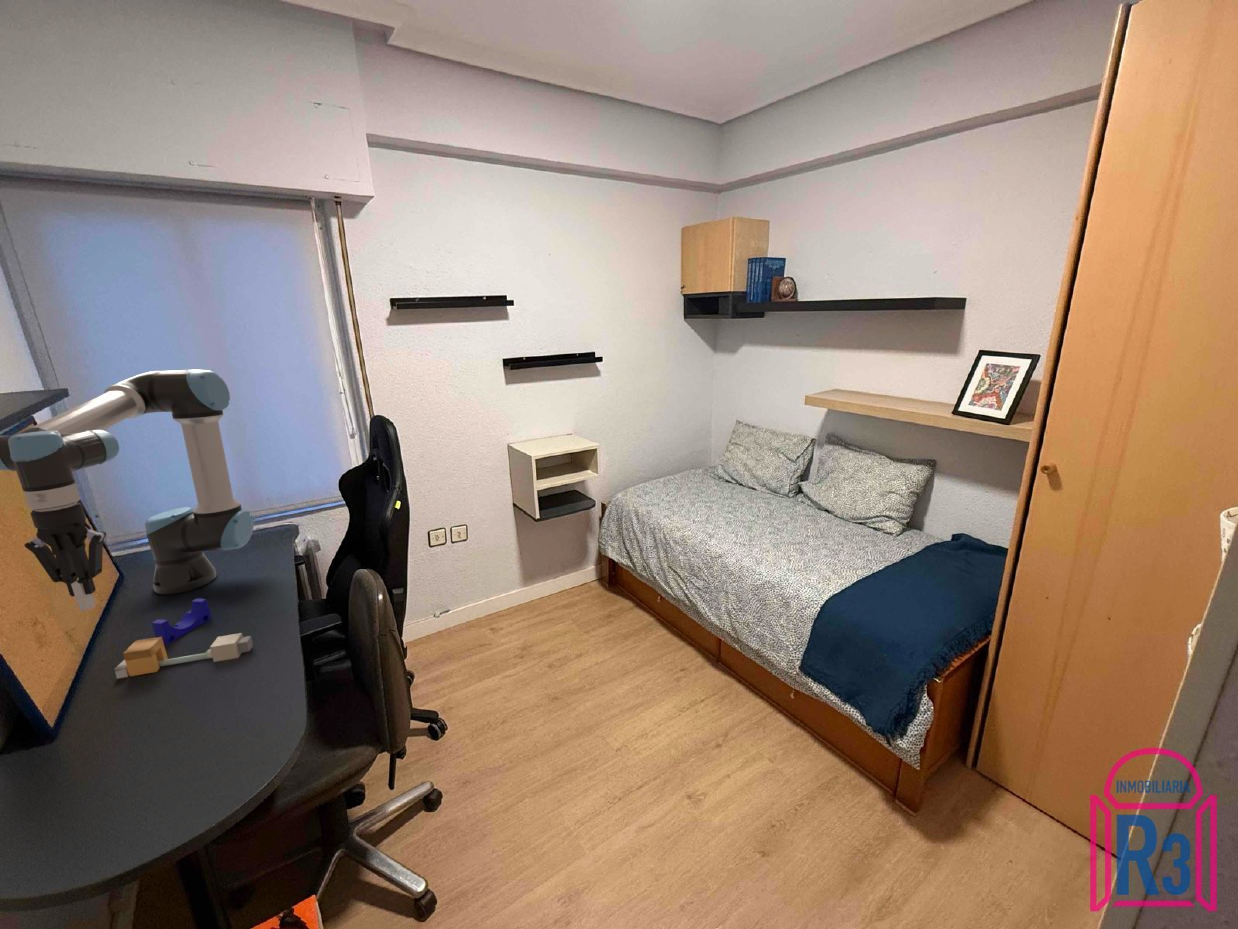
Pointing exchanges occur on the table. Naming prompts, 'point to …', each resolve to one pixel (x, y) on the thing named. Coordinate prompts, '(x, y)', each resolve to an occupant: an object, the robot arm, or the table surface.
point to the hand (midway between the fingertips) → (87, 607)
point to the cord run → (218, 651)
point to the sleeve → (145, 656)
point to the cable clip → (183, 622)
